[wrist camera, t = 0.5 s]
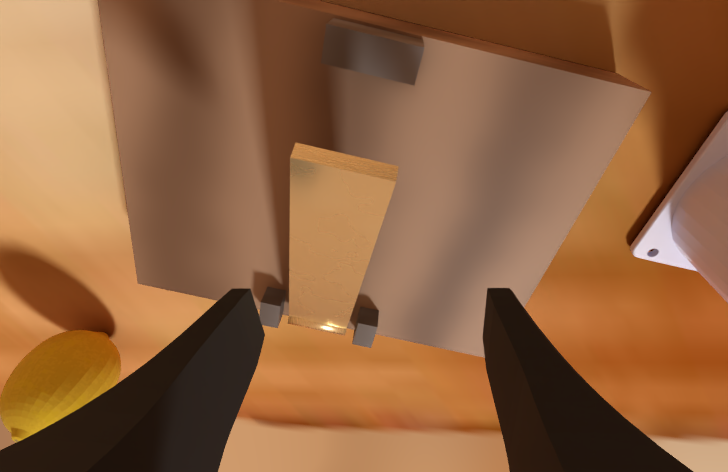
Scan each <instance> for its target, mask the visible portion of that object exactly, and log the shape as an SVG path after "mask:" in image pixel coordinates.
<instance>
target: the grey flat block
mask: <svg viewBox="0 0 728 472" xmlns="http://www.w3.org/2000/svg"><path fill="white" fill-rule="evenodd" d="M98 6H99V13H100V20H101V27H102V34H103V41H104V48H105V55H106V62H107V69H108V76H109V83H110V90H111V97H112V104H113V112H114V119H115V126H116V133H117V140H118V147H119V154H120V161H121V168H122V175H123V182H124V189H125V196H126V203H127V210H128V218H129V225H130V232H131V239H132V246H133V253H134V260H135V267H136V274H137V281H138V284H142V285H147V286H152V287H156V288H161V289H166V290H170V291H175V292H180V293H185V294H189V295H194V296H199V297H203V298H208V299H213V300H217V301H218V300H219V299H221V298H222V297H223V296H224V295H225V294H226V293H227V292H229V291H230V290H231V289H232V288H250V289H251V292H252V295H253V298H254V302H255V305H256V308H257V309H260V316H259V318H260V321H261V324H262V325H265V326H270V327H275V328H278V326H279V323H280V320H281V317H282V314H283V315H288V316H289V243H290V157H291V154H292V151H293V148H294V146H295V143H300V144H304V145H309V146H313V147H317V148H322V149H326V150H330V151H335V152H339V153H343V154H348V155H352V156H356V157H361V158H365V159H369V160H374V161H378V162H382V163H387V164H391V165H395V166H399V167H398V174H397V180H396V184H395V187H394V190H393V193H392V196H391V199H390V202H389V205H388V208H387V211H386V214H385V217H384V220H383V222H382V225H381V228H380V231H379V234H378V237H377V240H376V243H375V246H374V249H373V252H372V255H371V258H370V261H369V264H368V267H367V270H366V273H365V276H364V279H363V282H362V285H361V288H360V291H359V294H358V296H357V299H356V302H355V305H354V308H353V311H352V314H351V317H350V320H349V323H348V326H347V328H349V329H353V330H354V336H353V343H352V344H355V345H360V346H364V347H369V348H371V346H372V343H373V340H374V337H375V334H377V335H382V336H386V337H391V338H396V339H400V340H405V341H410V342H414V343H419V344H424V345H428V346H433V347H438V348H443V349H447V350H452V351H457V352H461V353H466V354H471V355H475V356H480V357H485V354H484V346H483V338H482V337H483V327H484V317H485V307H486V296H487V288H510V289H511V290H512V291H513V292H514V294H515V295H516V297H517V298H518V300H519V301H520V303H521V304H522V306H523V307H525V305H526V303H527V302H528V300H529V298H530V297H531V295H532V293H533V292H534V290H535V288H536V286H537V285H538V283H539V281H540V280H541V278H542V276H543V275H544V273H545V271H546V270H547V268H548V266H549V265H550V263H551V261H552V259H553V258H554V256H555V254H556V253H557V251H558V249H559V248H560V246H561V244H562V243H563V241H564V239H565V238H566V236H567V234H568V232H569V231H570V229H571V227H572V226H573V224H574V222H575V221H576V219H577V217H578V216H579V214H580V212H581V211H582V209H583V207H584V205H585V204H586V202H587V200H588V199H589V197H590V195H591V194H592V192H593V190H594V189H595V187H596V185H597V184H598V182H599V180H600V178H601V177H602V175H603V173H604V172H605V170H606V168H607V167H608V165H609V163H610V162H611V160H612V158H613V157H614V155H615V153H616V151H617V150H618V148H619V146H620V145H621V143H622V141H623V140H624V138H625V136H626V135H627V133H628V131H629V129H630V128H631V126H632V124H633V123H634V121H635V119H636V118H637V116H638V114H639V113H640V111H641V109H642V108H643V106H644V104H645V102H646V101H647V99H648V97H649V96H650V94H651V92H650V91H649V90H647V89H645V88H643V87H641V86H639V85H637V84H636V83H634V82H632V81H630V80H628V79H626V78H625V77H623V76H621V75H619V74H617V73H614V72H610V71H606V70H601V69H597V68H593V67H589V66H585V65H581V64H577V63H573V62H569V61H565V60H561V59H557V58H553V57H548V56H544V55H540V54H536V53H532V52H528V51H524V50H520V49H516V48H512V47H508V46H504V45H499V44H495V43H491V42H487V41H483V40H479V39H475V38H471V37H467V36H463V35H459V34H455V33H450V32H446V31H442V30H438V29H434V28H430V27H426V26H422V25H418V24H414V23H410V22H406V21H402V20H397V19H393V18H389V17H385V16H381V15H377V14H373V13H369V12H365V11H361V10H357V9H353V8H348V7H344V6H340V5H336V4H332V3H328V2H324V1H320V0H98Z"/></svg>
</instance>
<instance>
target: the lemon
mask: <svg viewBox="0 0 728 472" xmlns="http://www.w3.org/2000/svg"><path fill="white" fill-rule="evenodd" d="M120 371H121V361H120V355H119V352H118V350H117V348H116V346H115V345H114V344H113V343H112V341H110V340H109V337H108V335H107V334H106V333H104V332H94V331H89V330H71V331H66V332H63V333H60V334H57V335H54V336H52V337H50V338H48V339H47V340H45V341H43V342H42V343H41V344H39V345H38V346H37V347H36V348H34V349H33V350H32V351H31V352H30V353H28V354H27V355H26V356H25V357H24V358H23V359H22V360H21V362H20V363H19V364H18V365H17V366H16V368H15V369H14V371H13V372H12V374H11V375H10V377H9V379H8V380H7V382H6V384H5V386H4V389H3V391H2V394H1V397H0V415H1V419H2V421H3V423H4V425H5V427H6V428H7V429H8V430H9V431H10V432H11V434H12V440H13V441H15V442H19V441H21V440H23V439H25V438H27V437H29V436H31V435H32V434H34V433H36V432H38V431H40V430H42V429H44V428H46V427H47V426H49V425H51V424H53V423H55V422H57V421H58V420H60V419H62V418H64V417H65V416H67V415H69V414H70V413H72V412H74V411H76V410H77V409H79V408H81V407H82V406H84V405H85V404H87V403H88V402H90V401H92V400H93V399H95V398H96V397H98V396H100V395H101V394H103V393H104V392H106V391H107V390H109V389H111V388H112V387H114V386H115V385H116V384H117V381H118V378H119V375H120Z"/></svg>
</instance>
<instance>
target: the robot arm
mask: <svg viewBox="0 0 728 472" xmlns="http://www.w3.org/2000/svg"><path fill="white" fill-rule="evenodd" d="M651 249H654V250H653V251H651V252H648V251H649V250H651ZM630 251H631V252H632V254H633V255H634V256H635V257H637V258H641V259H646V260H650V261H655V262H659V263H663V264H668V265H672V266H677V267H681V268H685V269H690V270H694V271H698V272H699V273H700V274H701V275H702V276H703V277H704V278H705V279H706V280H707V281H708V282H709V283H710V284H711V286H712V287H713V288H714V289H715V290H716V291H717V292H718V293H719V294H720V295H721V296H722V297H723V298H724V299H725V301H726V302H727V303H728V111H727V112H726V113H725V114H724V116H723V117H722V118H721V120H720V121H719V123H718V124H717V125H716V127H715V128H714V130H713V131H712V132H711V134H710V135H709V137H708V138H707V139H706V141H705V142H704V144H703V145H702V146H701V148H700V149H699V151H698V152H697V153H696V155H695V156H694V158H693V159H692V160H691V162H690V163H689V165H688V166H687V167H686V169H685V170H684V172H683V173H682V174H681V176H680V177H679V179H678V180H677V181H676V183H675V184H674V186H673V187H672V189H671V190H670V191H669V193H668V194H667V196H666V197H665V198H664V200H663V201H662V203H661V204H660V205H659V207H658V208H657V210H656V211H655V212H654V214H653V215H652V217H651V218H650V219H649V221H648V222H647V224H646V225H645V226H644V228H643V229H642V231H641V232H640V233H639V235H638V236H637V238H636V239H635V240H634V242H633V243H632V245H631V247H630ZM264 336H265V334H264V330H263V327H262V324H261V321H260V318H259V314H258V311H257V308H256V305H255V302H254V298H253V295H252V292H251V289H250V288H232V289H231V290H230V291H229V292H227V293H226V294H225V295H224V296H223V297H222V298H221V299H219V300H218V301H217V302H216V303H215V304H214V305H213V306H212V307H211V308H210V309H209V310H208V311H206V312H205V313H204V314H203V315H202V316H201V317H200V318H199V319H198V320H197V321H195V322H194V323H193V324H192V325H191V326H190V327H189V328H188V329H187V330H185V331H184V332H183V333H182V334H181V335H180V336H179V337H177V338H176V339H175V340H174V341H173V342H171V343H170V344H169V345H168V346H167V347H165V348H164V349H163V350H162V351H161V352H159V353H158V354H157V355H156V356H155V357H153V358H152V359H151V360H150V361H148V362H147V363H146V364H144V365H143V366H142V367H140V368H139V369H138V370H136V371H135V372H134V373H132V374H131V375H129V376H128V377H127V378H125V379H124V380H122V381H121V382H119V383H118V384H117V385H115V386H114V387H112V388H111V389H109V390H107V391H106V392H104V393H103V394H101V395H100V396H98V397H96V398H95V399H93V400H92V401H90V402H88V403H87V404H85V405H84V406H82V407H81V408H79V409H77V410H76V411H74V412H72V413H70V414H69V415H67V416H65V417H64V418H62V419H60V420H58V421H57V422H55V423H53V424H51V425H49V426H47V427H46V428H44V429H42V430H40V431H38V432H36V433H34V434H32V435H31V436H29V437H27V438H25V439H23V440H21V441H19V442H17V443H15V444H13V445H11V446H8V447H6V448H4V449H2V450H1V451H0V472H218V469H219V466H220V462H221V459H222V455H223V452H224V448H225V445H226V443H227V440H228V437H229V434H230V431H231V429H232V426H233V424H234V421H235V419H236V417H237V414H238V412H239V409H240V407H241V404H242V402H243V399H244V397H245V394H246V392H247V389H248V387H249V384H250V382H251V379H252V377H253V374H254V372H255V369H256V366H257V363H258V360H259V356H260V352H261V348H262V344H263V340H264ZM482 338H483V346H484V354H485V362H486V369H487V374H488V378H489V382H490V386H491V390H492V394H493V399H494V403H495V407H496V411H497V415H498V419H499V423H500V427H501V431H502V435H503V439H504V443H505V448H506V452H507V457H508V463H509V469H510V472H693V471H692V470H690V469H689V468H688V467H686V466H685V465H684V464H682V463H681V462H680V461H678V460H677V459H676V458H674V457H673V456H672V455H670V454H669V453H667V452H666V451H665V450H663V449H662V448H661V447H660V446H658V445H657V444H656V443H655V442H653V441H652V440H651V439H650V438H649V437H647V436H646V435H645V434H644V433H642V432H641V431H640V430H639V429H638V428H636V427H635V426H634V425H633V424H631V423H630V422H629V421H628V420H627V419H625V418H624V417H623V416H622V415H621V414H620V413H619V412H618V411H616V410H615V409H614V408H613V407H612V406H611V405H610V404H609V403H608V402H606V401H605V400H604V399H603V398H602V397H601V396H600V395H599V394H598V393H597V392H596V391H595V390H594V389H593V388H592V387H591V386H590V385H589V384H588V383H587V382H586V381H585V380H584V379H583V378H582V377H581V376H580V375H579V374H578V373H577V372H576V371H575V370H574V369H573V367H572V366H571V365H570V364H569V363H568V362H567V361H566V360H565V359H564V358H563V356H562V355H561V354H560V353H559V352H558V351H557V349H556V348H555V347H554V346H553V345H552V343H551V342H550V341H549V340H548V339H547V337H546V336H545V335H544V334H543V332H542V331H541V330H540V329H539V327H538V326H537V325H536V324H535V322H534V321H533V320H532V318H531V317H530V315H529V314H528V313H527V311H526V310H525V309H524V307H523V306H522V304H521V303H520V301H519V300H518V298H517V297H516V295H515V294H514V292H513V291H512V290H511V289H510V288H487V296H486V307H485V317H484V327H483V337H482Z"/></svg>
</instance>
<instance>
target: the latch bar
mask: <svg viewBox="0 0 728 472" xmlns="http://www.w3.org/2000/svg"><path fill="white" fill-rule="evenodd" d="M398 167H399V166H395V165H391V164H387V163H382V162H378V161H374V160H369V159H365V158H361V157H356V156H352V155H348V154H343V153H339V152H335V151H330V150H326V149H322V148H317V147H313V146H309V145H304V144H300V143H295V146H294V148H293V151H292V154H291V157H290V243H289V319H288V324H292V325H297V326H301V327H306V328H311V329H316V330H320V331H325V332H330V333H334V334H339V335H344V336H345V333H346V329H347V326H348V323H349V320H350V317H351V314H352V311H353V308H354V305H355V302H356V299H357V296H358V294H359V291H360V288H361V285H362V282H363V279H364V276H365V273H366V270H367V267H368V264H369V261H370V258H371V255H372V252H373V249H374V246H375V243H376V240H377V237H378V234H379V231H380V228H381V225H382V222H383V220H384V217H385V214H386V211H387V208H388V205H389V202H390V199H391V196H392V193H393V190H394V187H395V184H396V180H397V174H398Z"/></svg>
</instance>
